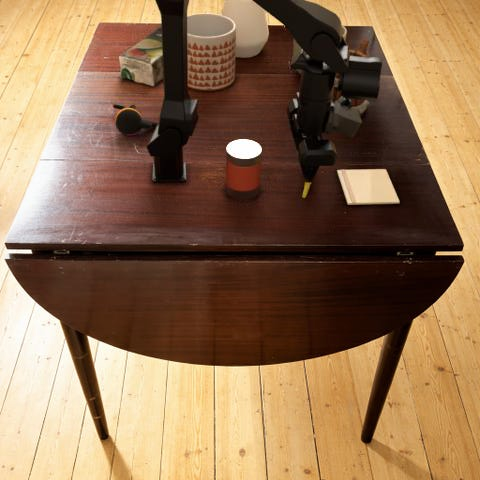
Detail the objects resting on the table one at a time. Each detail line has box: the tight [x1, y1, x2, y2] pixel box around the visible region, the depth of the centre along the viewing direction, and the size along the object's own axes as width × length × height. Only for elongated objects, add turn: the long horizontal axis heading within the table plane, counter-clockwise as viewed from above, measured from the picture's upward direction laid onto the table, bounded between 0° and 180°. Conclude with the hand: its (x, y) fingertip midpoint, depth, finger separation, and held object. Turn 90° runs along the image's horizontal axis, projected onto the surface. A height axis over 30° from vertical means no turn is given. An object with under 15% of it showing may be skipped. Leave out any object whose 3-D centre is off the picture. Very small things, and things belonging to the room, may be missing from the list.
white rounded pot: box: [220, 0, 270, 59], centre depth 155 cm, size 13×13×14 cm
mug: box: [332, 38, 370, 117], centre depth 136 cm, size 12×14×15 cm
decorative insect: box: [301, 181, 312, 199], centre depth 117 cm, size 13×3×10 cm
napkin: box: [336, 168, 400, 206], centre depth 119 cm, size 11×10×1 cm
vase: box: [187, 12, 236, 92], centre depth 144 cm, size 14×14×13 cm
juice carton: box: [118, 26, 164, 87], centre depth 149 cm, size 20×10×6 cm, turn 155°
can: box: [225, 139, 262, 201], centre depth 114 cm, size 6×6×9 cm
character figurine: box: [112, 103, 159, 137], centre depth 132 cm, size 10×6×12 cm
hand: (305, 171), depth 116 cm, fingers closed on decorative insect, 6 cm apart
